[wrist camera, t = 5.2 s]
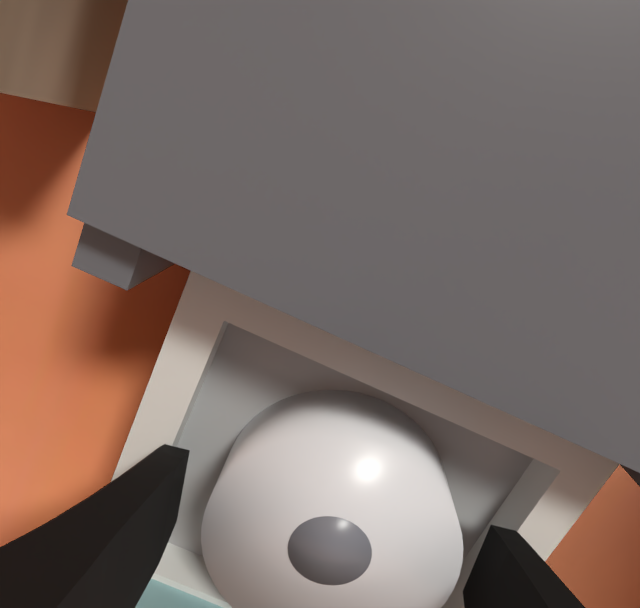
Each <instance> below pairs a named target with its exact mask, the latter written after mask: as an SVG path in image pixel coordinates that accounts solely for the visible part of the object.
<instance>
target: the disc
mask: <svg viewBox="0 0 640 608" xmlns="http://www.w3.org/2000/svg"><path fill="white" fill-rule="evenodd" d="M201 545H202V553H203V557H204V561H205V564H206V568H207V570H208V572H209V575H210V577H211V579H212V581H213V583H214V584H215V586H216V588H217V589H218V591H219V592H220V594H221V595H222V596H223V597H224V599H225V600H226V601H227V602H228V604H229V605H230V606H232V607H233V608H441V607H442V606H443V605H444V604H445V603H446V601H447V600H448V598H449V597H450V595H451V593H452V592H453V590H454V588H455V585H456V583H457V581H458V578H459V575H460V571H461V567H462V562H463V539H462V532H461V528H460V524H459V521H458V517H457V514H456V510H455V507H454V503H453V500H452V496H451V493H450V489H449V486H448V482H447V479H446V475H445V472H444V468H443V465H442V461H441V459H440V457H439V454H438V452H437V450H436V448H435V446H434V445H433V443H432V441H431V440H430V438H429V437H428V435H427V434H426V433H425V432H424V431H423V429H422V428H421V427H420V426H419V425H418V424H417V423H416V422H415V421H413V420H412V419H411V418H410V417H409V416H408V415H406V414H405V413H403V412H402V411H400V410H399V409H398V408H396V407H394V406H392V405H390V404H388V403H386V402H385V401H382V400H380V399H377V398H374V397H372V396H369V395H365V394H361V393H357V392H351V391H343V390H318V391H309V392H305V393H300V394H296V395H293V396H290V397H287V398H285V399H282V400H280V401H278V402H276V403H274V404H272V405H270V406H269V407H267V408H266V409H264V410H263V411H261V412H260V413H259V414H257V415H256V416H255V417H254V418H253V419H252V420H251V421H250V422H249V423H248V424H247V425H246V426H245V427H244V429H243V430H242V431H241V433H240V434H239V435H238V437H237V439H236V441H235V442H234V444H233V446H232V448H231V450H230V453H229V455H228V457H227V460H226V462H225V464H224V466H223V469H222V471H221V473H220V476H219V478H218V480H217V482H216V485H215V487H214V489H213V492H212V494H211V496H210V499H209V501H208V504H207V506H206V509H205V512H204V516H203V521H202V526H201Z"/></svg>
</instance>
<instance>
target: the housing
mask: <svg viewBox="0 0 640 608" xmlns="http://www.w3.org/2000/svg"><path fill="white" fill-rule="evenodd" d="M67 215H68V216H71V217H73V218H75V219H77V220H80V221H82V222H84V226H83V229H82V233H81V236H80V239H79V243H78V246H77V250H76V253H75V256H74V260H73V263H72V266H73V267H75V268H78V269H80V270H82V271H84V272H87V273H89V274H91V275H93V276H96V277H98V278H100V279H102V280H105V281H107V282H109V283H111V284H114V285H116V286H118V287H120V288H123V289H125V290H129V289H131V288H133V287H134V286H136V285H138V284H140V283H141V282H143V281H145V280H147V279H149V278H150V277H152V276H154V275H156V274H157V273H159V272H161V271H163V270H165V269H166V268H168V267H170V266H172V265H173V264H177V265H179V266H182V267H184V268H186V269H188V270H190V271H193V272H195V273H197V274H199V275H202V276H204V277H206V278H208V279H210V280H213V281H215V282H217V283H219V284H222V285H224V286H226V287H228V288H230V289H233V290H235V291H237V292H239V293H242V294H244V295H246V296H248V297H250V298H253V299H255V300H257V301H259V302H262V303H264V304H266V305H268V306H270V307H273V308H275V309H277V310H279V311H281V312H284V313H286V314H288V315H290V316H293V317H295V318H297V319H299V320H301V321H304V322H306V323H308V324H310V325H313V326H315V327H317V328H319V329H321V330H324V331H326V332H328V333H330V334H333V335H335V336H337V337H339V338H341V339H344V340H346V341H348V342H350V343H353V344H355V345H357V346H359V347H361V348H364V349H366V350H368V351H370V352H372V353H375V354H377V355H379V356H381V357H384V358H386V359H388V360H390V361H392V362H395V363H397V364H399V365H401V366H404V367H406V368H408V369H410V370H412V371H415V372H417V373H419V374H421V375H424V376H426V377H428V378H430V379H432V380H435V381H437V382H439V383H441V384H444V385H446V386H448V387H450V388H452V389H455V390H457V391H459V392H461V393H463V394H466V395H468V396H470V397H472V398H475V399H477V400H479V401H481V402H483V403H486V404H488V405H490V406H492V407H495V408H497V409H499V410H501V411H503V412H506V413H508V414H510V415H512V416H515V417H517V418H519V419H521V420H523V421H526V422H528V423H530V424H532V425H535V426H537V427H539V428H541V429H543V430H546V431H548V432H550V433H552V434H554V435H557V436H559V437H561V438H563V439H566V440H568V441H570V442H572V443H574V444H577V445H579V446H581V447H583V448H586V449H588V450H590V451H592V452H594V453H597V454H599V455H601V456H603V457H606V458H608V459H610V460H612V461H614V462H617V463H619V464H620V465H621V466H622V467H623V468H624V469H625V471H626V472H627V473H628V474H629V475H630V476H631V477H632V478H633V479H634V481H635V482H636V483H637V484H638V485H639V486H640V0H128V3H127V6H126V10H125V13H124V17H123V20H122V24H121V27H120V31H119V34H118V38H117V41H116V45H115V48H114V52H113V55H112V59H111V62H110V66H109V69H108V73H107V76H106V80H105V83H104V87H103V90H102V94H101V97H100V100H99V104H98V107H97V111H96V114H95V118H94V121H93V125H92V128H91V132H90V135H89V139H88V142H87V146H86V149H85V153H84V156H83V160H82V163H81V167H80V170H79V174H78V177H77V181H76V184H75V188H74V191H73V195H72V198H71V202H70V205H69V209H68V212H67Z"/></svg>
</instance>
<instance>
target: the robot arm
mask: <svg viewBox="0 0 640 608" xmlns="http://www.w3.org/2000/svg"><path fill="white" fill-rule="evenodd" d="M189 452H190V450H187V449H183V448H178V447H174V446H170V445H166V444H164V445H162V446H160V447H158V448H157V449H156V450H154V451H153V452H152V453H150V454H149V455H148V456H146V457H145V458H144V459H142V460H141V461H140V462H138V463H137V464H136V465H134V466H133V467H132V468H130V469H129V470H127V471H126V472H125V473H123V474H122V475H120V476H119V477H118V478H116V479H115V480H113V481H112V482H110V483H109V484H107V485H106V486H104V487H103V488H101V489H100V490H99V491H97V492H96V493H94V494H93V495H91V496H90V497H88V498H86V499H85V500H83V501H82V502H80V503H78V504H77V505H75V506H73V507H72V508H70V509H69V510H67V511H65V512H64V513H62V514H60V515H59V516H57V517H56V518H54V519H52V520H50V521H49V522H47V523H45V524H43V525H42V526H40V527H38V528H36V529H34V530H33V531H31V532H29V533H27V534H25V535H23V536H21V537H19V538H17V539H15V540H14V541H12V542H10V543H8V544H6V545H4V546H2V547H0V608H135V607H136V605H137V603H138V601H139V600H140V598H141V596H142V594H143V592H144V590H145V589H146V587H147V585H148V583H149V581H150V580H151V578H152V576H153V574H154V572H155V570H156V568H157V567H158V565H159V563H160V560H161V558H162V556H163V553H164V551H165V548H166V546H167V544H168V541H169V539H170V537H171V534H172V532H173V529H174V527H175V524H176V522H177V517H178V512H179V507H180V501H181V496H182V490H183V485H184V479H185V474H186V469H187V463H188V458H189ZM463 599H464V608H585V607H584V606H583V605H582V604H581V602H580V601H579V600H578V599H577V598H576V597H575V596H574V595H573V593H572V592H571V591H570V590H569V589H568V588H567V587H566V586H565V584H564V583H563V582H562V581H561V580H560V579H559V578H558V576H557V575H556V574H555V573H554V572H553V571H552V569H551V568H550V567H549V566H548V565H547V564H546V563H545V561H544V560H543V559H542V558H541V557H540V556H539V555H538V554H537V552H536V551H535V550H534V549H533V548H532V547H531V546H530V545H529V543H528V542H527V541H526V540H525V539H524V538H523V537H522V536H521V535H520V534H519V533H518V532H517V531H515V530H511V529H507V528H503V527H499V526H495V525H490V528H489V530H488V533H487V535H486V537H485V540H484V542H483V544H482V547H481V549H480V551H479V554H478V556H477V559H476V561H475V563H474V566H473V568H472V570H471V573H470V575H469V577H468V580H467V582H466V585H465V587H464V589H463Z"/></svg>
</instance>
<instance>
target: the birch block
mask: <svg viewBox="0 0 640 608" xmlns="http://www.w3.org/2000/svg"><path fill="white" fill-rule="evenodd" d="M127 3H128V0H0V93H4V94H9V95H14V96H18V97H23V98H28V99H33V100H38V101H43V102H48V103H53V104H58V105H62V106H67V107H72V108H77V109H82V110H87V111H92V112H96V111H97V107H98V104H99V100H100V97H101V94H102V90H103V87H104V83H105V80H106V76H107V73H108V69H109V66H110V62H111V59H112V55H113V52H114V48H115V45H116V41H117V38H118V34H119V31H120V27H121V24H122V20H123V17H124V13H125V10H126V6H127Z"/></svg>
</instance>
